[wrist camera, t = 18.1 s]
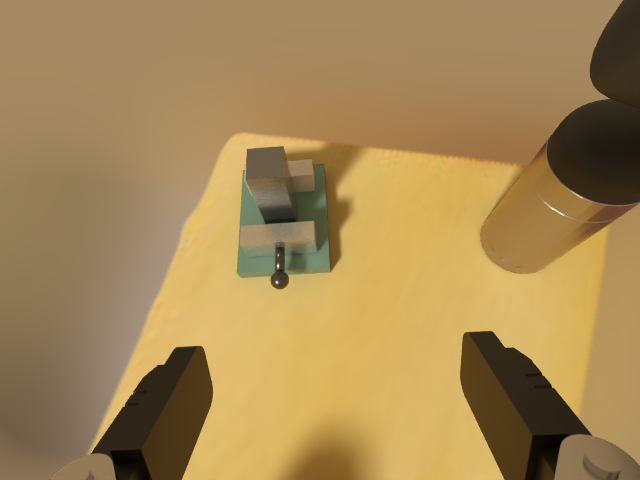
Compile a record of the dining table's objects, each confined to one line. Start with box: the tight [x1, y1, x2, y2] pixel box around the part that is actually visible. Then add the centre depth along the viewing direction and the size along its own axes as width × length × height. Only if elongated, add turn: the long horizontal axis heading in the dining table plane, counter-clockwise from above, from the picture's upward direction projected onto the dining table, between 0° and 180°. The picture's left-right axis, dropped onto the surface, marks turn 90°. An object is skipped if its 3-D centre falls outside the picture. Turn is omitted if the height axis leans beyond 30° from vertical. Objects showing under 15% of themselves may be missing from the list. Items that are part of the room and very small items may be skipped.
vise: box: [237, 159, 330, 278], centre depth 47 cm, size 16×12×6 cm
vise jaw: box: [240, 221, 317, 289], centre depth 43 cm, size 8×9×4 cm
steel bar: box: [245, 146, 298, 224], centre depth 43 cm, size 4×4×12 cm
